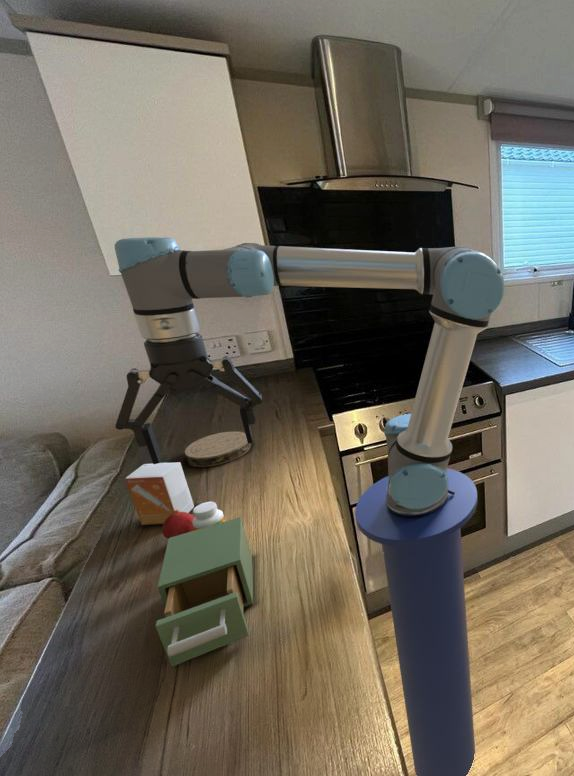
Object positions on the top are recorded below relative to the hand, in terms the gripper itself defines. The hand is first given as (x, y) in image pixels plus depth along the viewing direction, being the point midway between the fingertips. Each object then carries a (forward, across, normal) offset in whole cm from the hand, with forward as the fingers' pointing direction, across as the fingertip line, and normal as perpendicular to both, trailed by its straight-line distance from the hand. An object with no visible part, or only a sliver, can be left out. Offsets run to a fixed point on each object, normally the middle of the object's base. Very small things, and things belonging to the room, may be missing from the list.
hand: (206, 449), depth 79 cm
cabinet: (+29, -4, -3) cm, 29 cm away
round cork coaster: (+29, -6, +59) cm, 66 cm away
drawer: (+28, -4, -14) cm, 31 cm away
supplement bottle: (+29, -5, +13) cm, 32 cm away
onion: (+29, -11, +18) cm, 36 cm away
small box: (+29, -15, +30) cm, 44 cm away
